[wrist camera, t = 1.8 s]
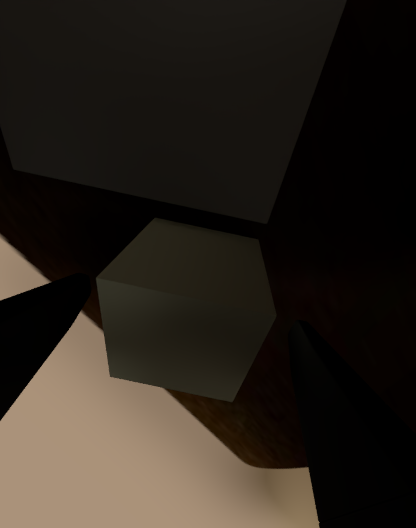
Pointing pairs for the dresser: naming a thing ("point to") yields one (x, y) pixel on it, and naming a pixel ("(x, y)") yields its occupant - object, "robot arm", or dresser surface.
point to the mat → (163, 94)
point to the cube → (185, 309)
